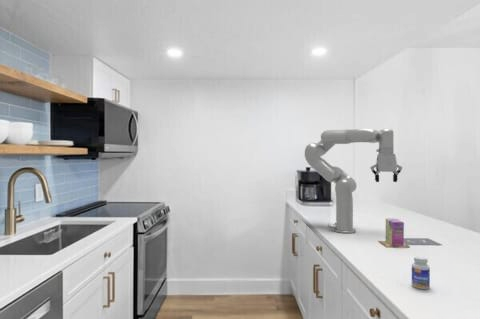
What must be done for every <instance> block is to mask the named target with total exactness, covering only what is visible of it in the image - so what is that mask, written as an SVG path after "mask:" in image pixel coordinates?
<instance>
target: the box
mask: <svg viewBox="0 0 480 319" xmlns="http://www.w3.org/2000/svg"><path fill="white" fill-rule="evenodd" d="M404 233H405V222H403V221H401V220H400V219H399V218H391V217H390V218H388V217H387V218H385V241H387V242H388V243H389V244H391V245H392V246H403V245H404V238H405V236H404Z"/></svg>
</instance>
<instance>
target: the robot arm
mask: <svg viewBox="0 0 480 319" xmlns="http://www.w3.org/2000/svg"><path fill="white" fill-rule="evenodd" d="M320 134H321V135H320V141H318V142H317V143H316V142H311V143H309V144H308V145H307V144H306V147H305V149H304V158H305V160H306V162H307V164H308V165H309V166H310V167H311V168H312V169H313V170H314V171H316V172H317V173H318V174H319V175H320V176H322V178H323V179H324V180H326V181H327V182H329V183H334V184H335V185H334V191H335V202H336V203H335V204H336V205H335V206H336V207H335V213H336V214H335V215H336V216H335V217H336V218H335V222H334V223H333V224H331V223H328V225H327V227H328V228H331V229H333V232H336V233H340V234H341V233H342V234H353V233H355V232H356V229H355V228H354V220H353V219H354V212H353V211H354V207H353V206H354V205H353V204H354V202H353V200H354V199H353V192H355V191H356V190H357V182H356V180H355V179H354V178H353V177H352V176H350V175H349V174H348V173H347V172H346V171H344V170H343V169H342V168H341V167H338V166H332V165H331V164H330V163H329V162H327V161H326V160H325V159H324V158H323V157H322V156H325V154H327V153H328V152H329V151H330V150H331V149H332V148H333V147H334V146H335V145H339V144H340V145H350V144H352V143H353V144H354V143H371V144H376V143H378V148H377V149H376V152H378V153H377V156H376V162H375V164H374V165H372V166H370V167H369V169H370V170H371V172H372V174H374V180H375V182H376V183H379V182H380V175H379V174H380V173H381V172H386V173H389V172H392V173H393V175H392V180H393V183H397V182H398V175H399V174H400V173H401V171H402V170H403V166H401V165H399V164H398V163H397V162H398V161H397V156H396V154H395V153H394V130H393V129H392V128H391V129H390V128H386V129H385V128H384V129H383V128H382V129H380V130H377V129H373V128H359V129H358V128H357V129H329V130H328V129H327V130H324V131H323V132H322V133H320ZM375 169H376V170H375Z"/></svg>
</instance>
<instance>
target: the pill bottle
mask: <svg viewBox="0 0 480 319" xmlns="http://www.w3.org/2000/svg"><path fill="white" fill-rule="evenodd" d="M413 261H414V262H412V263H411V286H412V287H414V288H416V289H420V290H427V289H430V285H431V284H430V282H431V280H430V279H431V277H430V276H431V275H430V274H431V271H430V270H431V269H430V268H431V267H430V265H429V264H428V257H425V256H421V255H420V256H419V255H415V256H414V257H413Z"/></svg>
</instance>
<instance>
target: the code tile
mask: <svg viewBox="0 0 480 319" xmlns="http://www.w3.org/2000/svg"><path fill="white" fill-rule="evenodd" d="M404 244H406V245H408V246H443V244H442V243H439V242H437V241H435V240H433V239H430V238H429V237H427V238H423V237H422V238H419V237H411V238H410V237H404Z"/></svg>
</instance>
